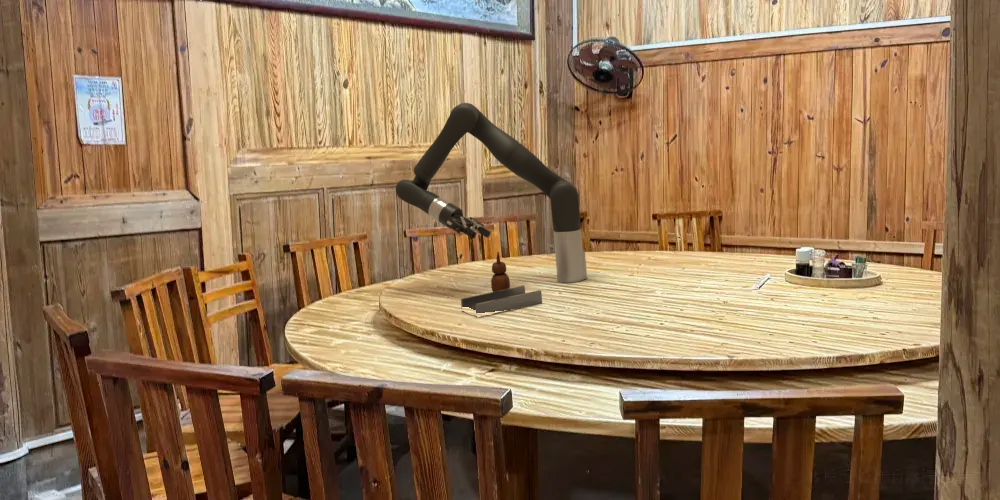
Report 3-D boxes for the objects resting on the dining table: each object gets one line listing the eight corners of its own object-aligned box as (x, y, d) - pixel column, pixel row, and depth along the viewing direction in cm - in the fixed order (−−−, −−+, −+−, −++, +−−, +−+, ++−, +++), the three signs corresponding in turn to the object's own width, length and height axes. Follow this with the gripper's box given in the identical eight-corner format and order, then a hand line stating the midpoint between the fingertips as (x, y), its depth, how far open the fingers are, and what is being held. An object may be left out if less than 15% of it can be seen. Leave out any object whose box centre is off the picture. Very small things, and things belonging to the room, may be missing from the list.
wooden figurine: (508, 298, 266) (504, 252, 263) (490, 299, 267) (486, 253, 264) (512, 293, 272) (508, 248, 270) (495, 294, 273) (490, 249, 271)
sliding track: (524, 297, 265) (523, 285, 264) (542, 303, 255) (541, 290, 254) (461, 311, 255) (460, 298, 254) (478, 317, 245) (477, 304, 244)
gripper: (437, 202, 271) (474, 225, 264) (461, 202, 283) (498, 224, 276) (428, 223, 273) (465, 246, 266) (453, 222, 286) (489, 244, 279)
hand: (482, 235), depth 271 cm, fingers open, 8 cm apart
